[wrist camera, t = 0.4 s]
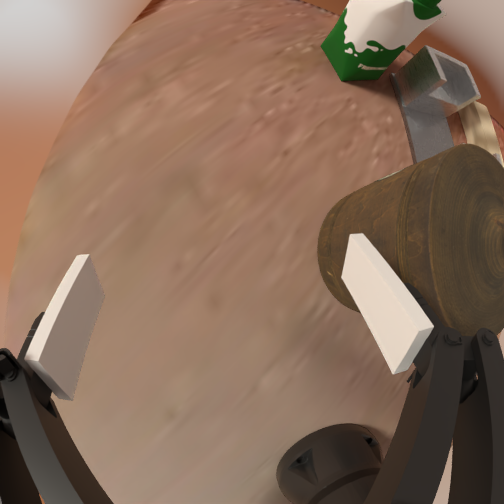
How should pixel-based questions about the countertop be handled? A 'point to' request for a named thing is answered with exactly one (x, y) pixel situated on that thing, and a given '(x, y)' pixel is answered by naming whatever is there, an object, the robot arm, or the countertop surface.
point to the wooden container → (431, 235)
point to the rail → (479, 128)
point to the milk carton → (376, 34)
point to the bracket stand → (432, 99)
